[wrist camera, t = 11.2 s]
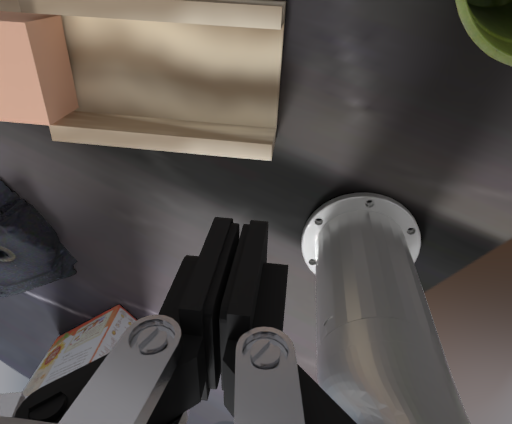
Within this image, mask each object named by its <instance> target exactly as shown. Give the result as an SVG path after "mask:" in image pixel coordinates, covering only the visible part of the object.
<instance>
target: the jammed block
mask: <svg viewBox="0 0 512 424" xmlns="http://www.w3.org/2000/svg"><path fill="white" fill-rule="evenodd" d="M77 108H79V106H78V101H77V96H76V90H75V85H74V80H73V75H72V70H71V65H70V60H69V55H68V50H67V45H66V40H65V35H64V30H63V25H62V20H61V15H52V14H37V13H22V12H7V11H0V121H4V122H16V123H27V124H38V125H49V126H50V125H52V124H53V123H55V122H56V121H58V120H60V119H61V118H63V117H64V116H66V115H68V114H69V113H71V112H72V111H74V110H76V109H77Z"/></svg>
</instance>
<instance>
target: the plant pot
mask: <svg viewBox="0 0 512 424" xmlns="http://www.w3.org/2000/svg"><path fill="white" fill-rule="evenodd" d="M455 2H456V6H457V11H458V14H459V17H460V20H461V22H462V24H463V26H464V28H465V30H466V31H467V33H468V35H469V36H470V37H471V39H472V40H473V41H474V43H475V44H476V45H477V46H478V47H479V48H480V49H481V50H482V51H483V52H485V53H486V54H487V55H488V56H490V57H491V58H493V59H495V60H497V61H499V62H501V63H503V64H506V65H509V66H511V67H512V0H455Z"/></svg>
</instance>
